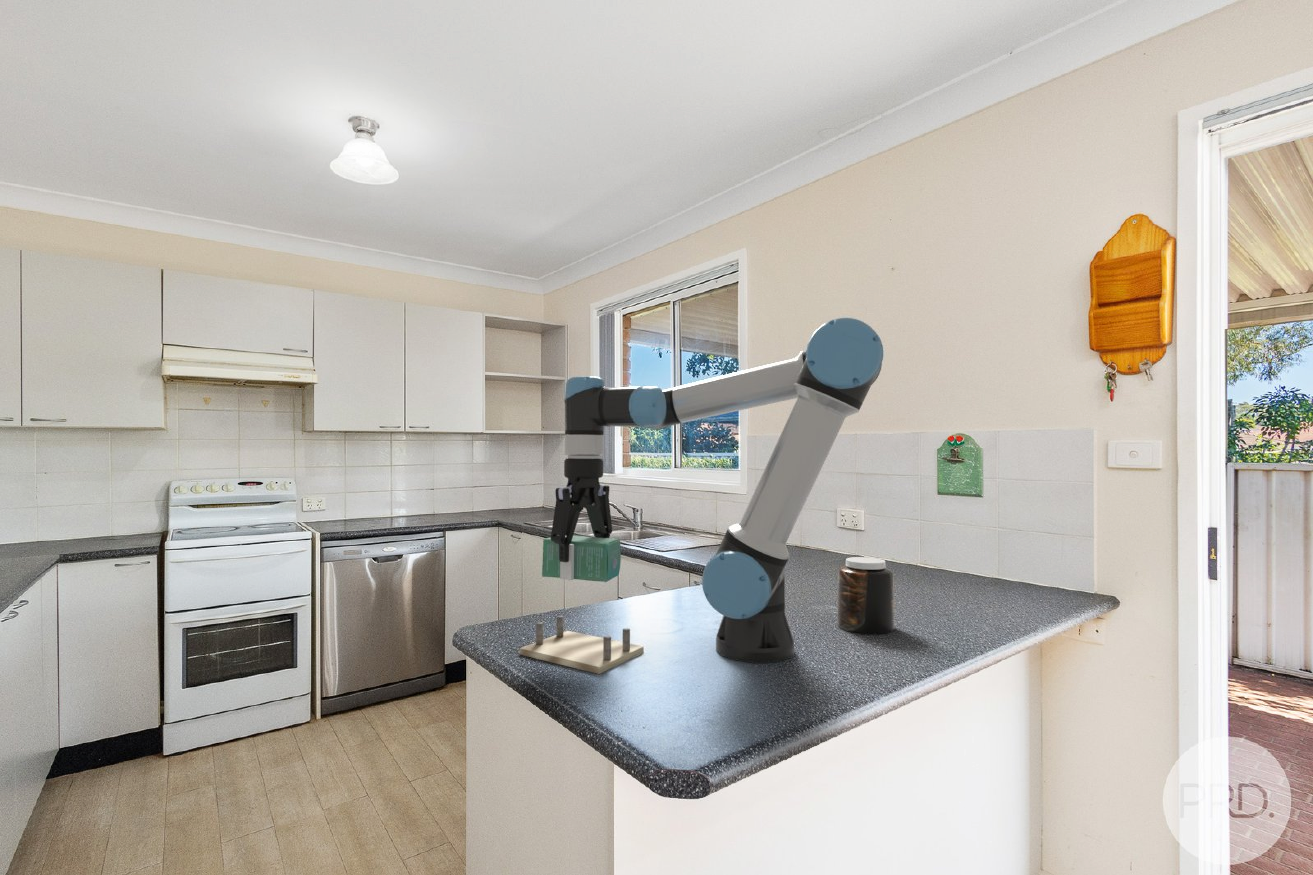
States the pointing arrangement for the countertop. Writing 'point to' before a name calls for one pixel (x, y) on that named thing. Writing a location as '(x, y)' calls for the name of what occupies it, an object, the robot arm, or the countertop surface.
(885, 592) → the jar
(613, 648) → the tray
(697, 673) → the countertop surface
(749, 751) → the countertop surface
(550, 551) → the box
